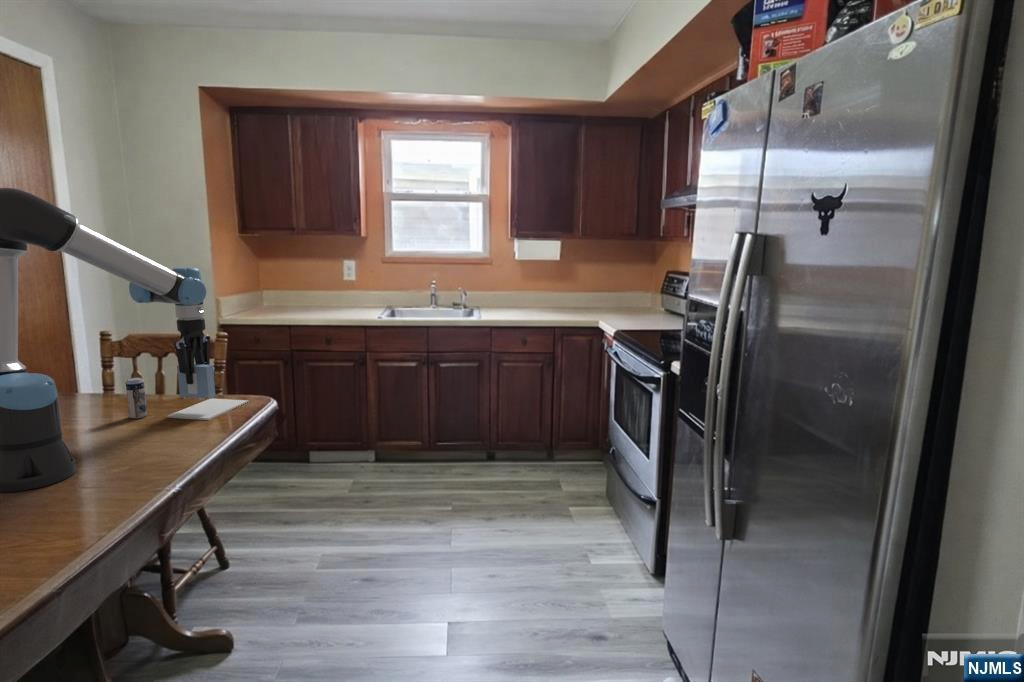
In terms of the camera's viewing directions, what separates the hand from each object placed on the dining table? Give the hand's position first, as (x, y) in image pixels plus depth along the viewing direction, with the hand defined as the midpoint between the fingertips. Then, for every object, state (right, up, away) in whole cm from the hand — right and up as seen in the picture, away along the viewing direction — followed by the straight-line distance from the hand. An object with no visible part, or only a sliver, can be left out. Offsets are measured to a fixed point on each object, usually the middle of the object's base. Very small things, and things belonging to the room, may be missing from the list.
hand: (197, 391), depth 173 cm
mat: (+1, -6, +5) cm, 8 cm away
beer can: (-16, -8, -4) cm, 18 cm away
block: (0, -1, 0) cm, 1 cm away
